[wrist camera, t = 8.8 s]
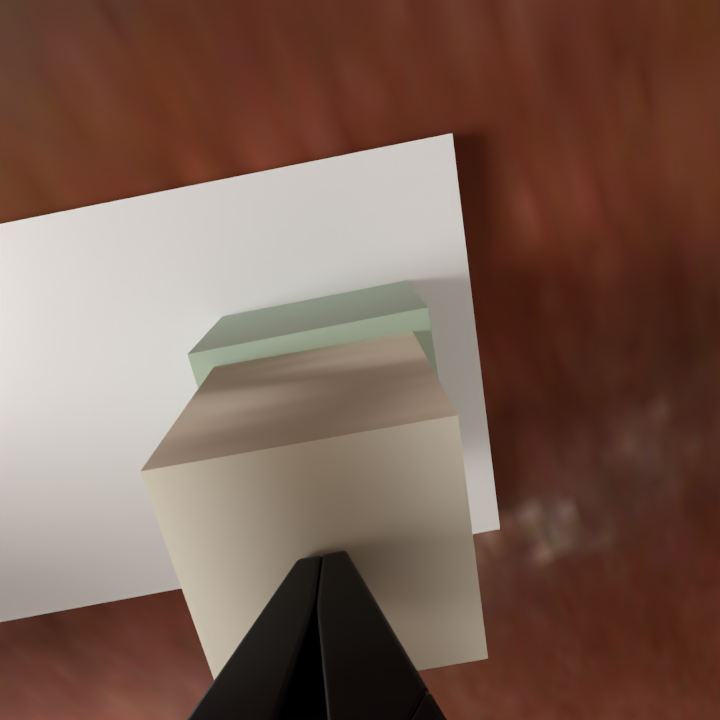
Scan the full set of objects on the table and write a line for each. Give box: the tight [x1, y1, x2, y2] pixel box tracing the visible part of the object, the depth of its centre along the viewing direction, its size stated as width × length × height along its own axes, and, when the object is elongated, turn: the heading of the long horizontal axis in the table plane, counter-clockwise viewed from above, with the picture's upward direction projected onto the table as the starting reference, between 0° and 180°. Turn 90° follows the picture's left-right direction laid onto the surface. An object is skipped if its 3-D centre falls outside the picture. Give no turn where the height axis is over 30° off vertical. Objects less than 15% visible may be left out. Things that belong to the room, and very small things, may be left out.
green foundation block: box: [188, 280, 438, 389], centre depth 15 cm, size 6×6×4 cm
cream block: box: [140, 331, 488, 680], centre depth 11 cm, size 5×5×5 cm
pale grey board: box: [0, 133, 500, 622], centre depth 18 cm, size 20×14×1 cm
